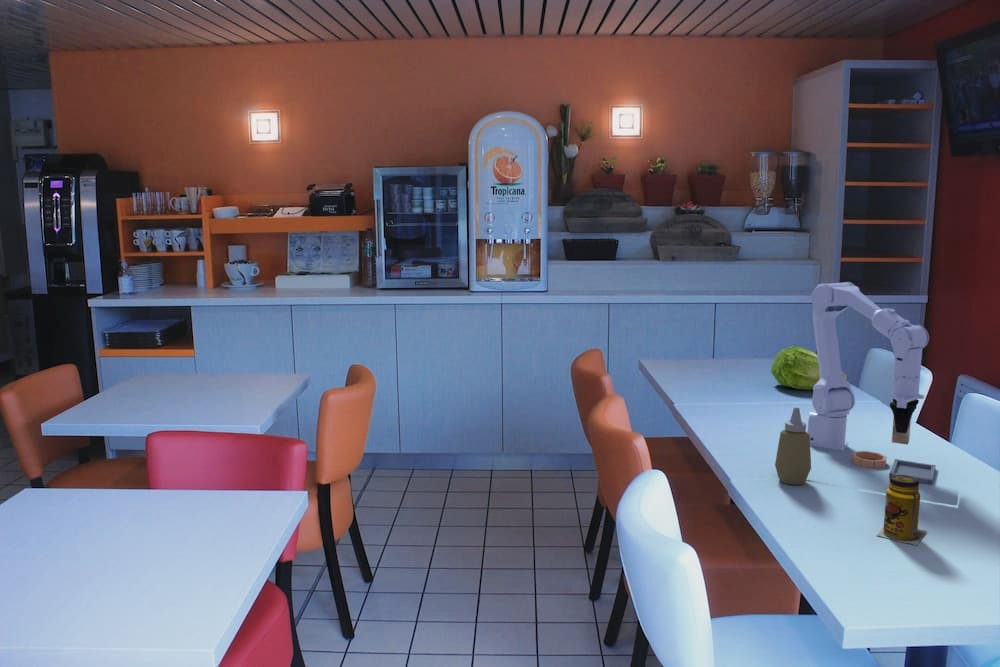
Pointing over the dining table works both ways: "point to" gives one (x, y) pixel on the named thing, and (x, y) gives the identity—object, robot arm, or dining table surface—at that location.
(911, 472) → the slate tray
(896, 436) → the beech peg
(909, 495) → the condiment
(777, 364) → the lettuce
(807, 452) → the squeeze bottle
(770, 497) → the dining table surface
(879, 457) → the terracotta octagonal bowl
